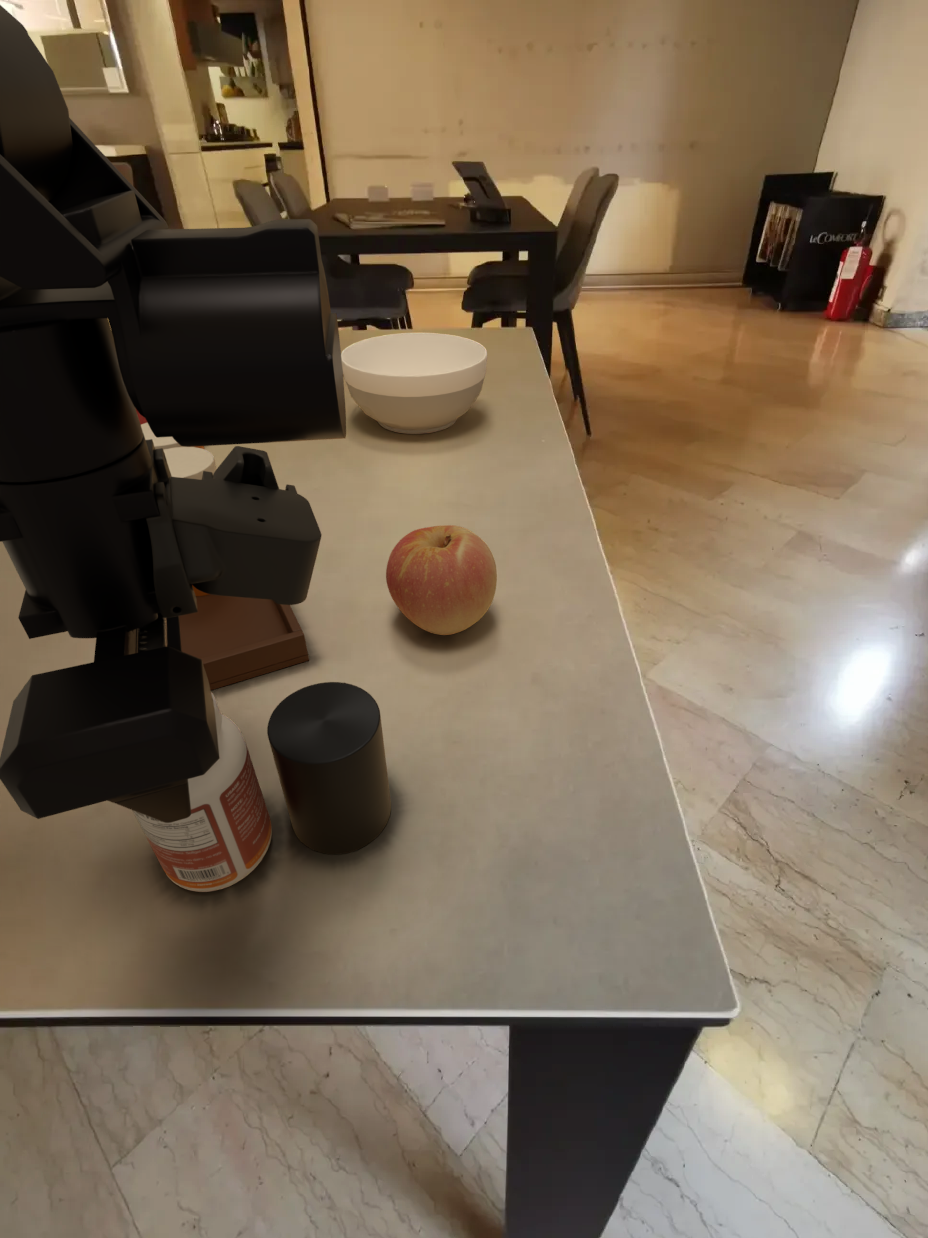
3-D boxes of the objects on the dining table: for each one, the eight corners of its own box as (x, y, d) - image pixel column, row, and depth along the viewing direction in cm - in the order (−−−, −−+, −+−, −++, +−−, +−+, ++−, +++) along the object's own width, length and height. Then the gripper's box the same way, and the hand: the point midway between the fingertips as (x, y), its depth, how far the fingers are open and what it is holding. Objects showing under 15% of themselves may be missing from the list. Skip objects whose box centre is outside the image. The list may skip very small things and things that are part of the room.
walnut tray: (309, 660, 52) (304, 634, 50) (168, 703, 48) (158, 676, 46) (240, 514, 70) (235, 492, 68) (135, 537, 66) (127, 514, 65)
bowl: (336, 403, 96) (328, 339, 90) (461, 388, 100) (461, 327, 95) (362, 455, 81) (355, 383, 76) (507, 435, 86) (509, 366, 81)
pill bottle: (239, 785, 42) (195, 653, 35) (294, 846, 39) (257, 711, 32) (144, 847, 39) (74, 713, 32) (195, 919, 35) (129, 786, 29)
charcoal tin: (274, 842, 39) (246, 751, 34) (316, 764, 44) (296, 673, 39) (371, 864, 38) (356, 773, 33) (403, 781, 42) (395, 690, 37)
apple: (429, 667, 51) (424, 581, 46) (371, 611, 57) (361, 528, 52) (517, 625, 55) (521, 541, 50) (454, 576, 61) (453, 497, 56)
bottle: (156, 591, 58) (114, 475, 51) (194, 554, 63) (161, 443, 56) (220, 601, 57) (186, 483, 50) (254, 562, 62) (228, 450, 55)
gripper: (336, 533, 19) (380, 849, 29) (258, 352, 33) (306, 606, 42) (-125, 617, 16) (97, 939, 26) (4, 378, 30) (117, 645, 39)
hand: (176, 744), depth 33 cm, fingers open, 9 cm apart
